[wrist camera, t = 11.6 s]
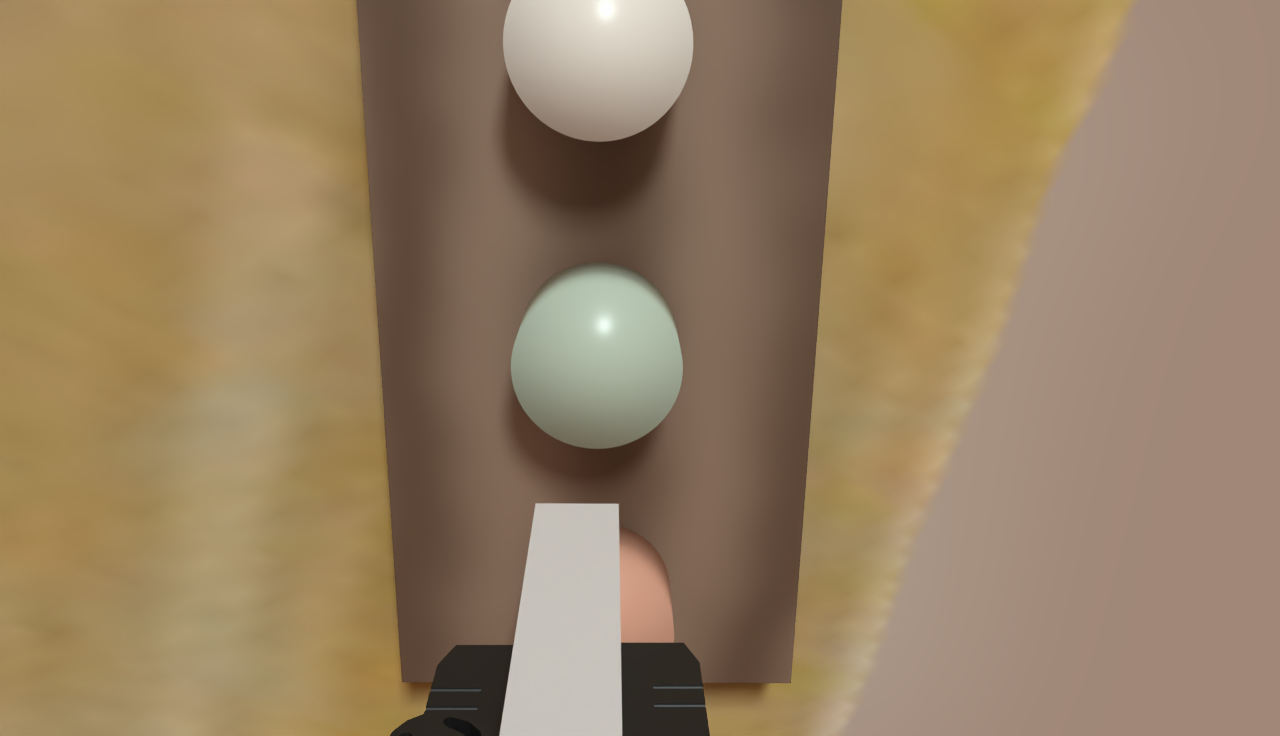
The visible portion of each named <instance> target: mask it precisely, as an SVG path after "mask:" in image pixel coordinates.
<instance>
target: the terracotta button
mask: <svg viewBox="0 0 1280 736" xmlns="http://www.w3.org/2000/svg"><path fill="white" fill-rule="evenodd" d="M619 554H620V619H621V643H674V624H673V613H672V603H671V592H670V581H669V575H668V571H667V568H666V565H665V563H664V561H663V559H662V557H661V555H660V554H659V553H658V551H657V550H656V549H655V548H654V547H653V546H652V544H651V543H650V542H648V541H647V540H646V539H645V538H643V537H642V536H640V535H639V534H637V533H635V532H633V531H631V530H629V529H627V528H624V527H621V526H619Z"/></svg>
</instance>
